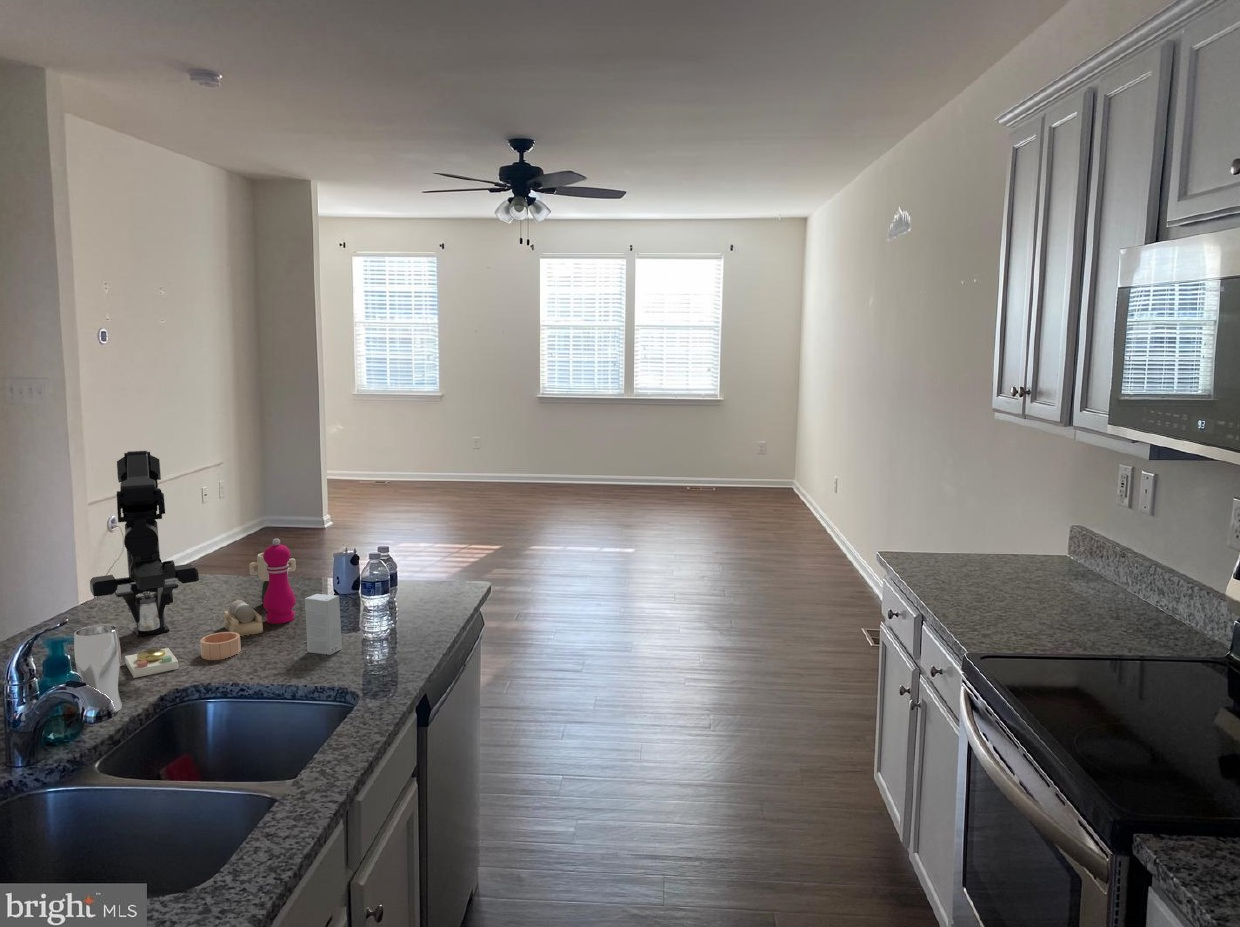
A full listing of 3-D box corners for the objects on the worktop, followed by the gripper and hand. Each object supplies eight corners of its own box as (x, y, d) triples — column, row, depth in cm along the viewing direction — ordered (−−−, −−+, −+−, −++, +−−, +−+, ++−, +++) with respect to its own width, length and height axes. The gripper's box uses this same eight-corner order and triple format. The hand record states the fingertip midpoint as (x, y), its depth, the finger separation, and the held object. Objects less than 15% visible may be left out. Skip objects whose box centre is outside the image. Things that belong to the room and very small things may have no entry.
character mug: (296, 597, 223) (293, 548, 221) (298, 604, 217) (296, 554, 215) (251, 602, 218) (248, 553, 216) (252, 609, 212) (249, 559, 210)
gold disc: (135, 656, 174) (135, 652, 174) (162, 651, 177) (162, 647, 177) (139, 663, 170) (139, 659, 170) (167, 658, 173) (167, 654, 173)
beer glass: (92, 722, 147) (85, 639, 145) (72, 713, 151) (64, 632, 149) (132, 707, 153) (126, 627, 151) (112, 699, 157) (105, 621, 155)
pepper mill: (285, 625, 200) (280, 542, 197) (257, 623, 201) (253, 541, 198) (302, 616, 207) (298, 536, 204) (276, 614, 208) (271, 534, 205)
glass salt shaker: (136, 627, 173) (133, 591, 172) (158, 623, 175) (155, 588, 174) (140, 632, 170) (137, 596, 169) (161, 628, 172) (159, 592, 171)
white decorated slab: (125, 663, 175) (124, 652, 175) (168, 655, 180) (167, 644, 180) (133, 677, 167) (132, 666, 167) (178, 668, 172) (177, 657, 172)
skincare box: (342, 649, 184) (340, 595, 182) (329, 655, 180) (327, 601, 178) (319, 646, 186) (316, 593, 184) (306, 652, 182) (303, 598, 180)
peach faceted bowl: (198, 652, 182) (197, 636, 181) (235, 645, 186) (234, 629, 186) (206, 662, 176) (205, 646, 175) (244, 654, 180) (243, 638, 180)
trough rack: (224, 626, 199) (222, 600, 198) (250, 621, 202) (249, 596, 202) (235, 637, 191) (233, 610, 190) (262, 632, 195) (261, 606, 194)
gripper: (93, 560, 158) (100, 640, 160) (202, 546, 170) (207, 621, 172) (86, 549, 167) (93, 626, 169) (190, 536, 178) (195, 608, 180)
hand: (148, 620), depth 172 cm, fingers closed on glass salt shaker, 4 cm apart
